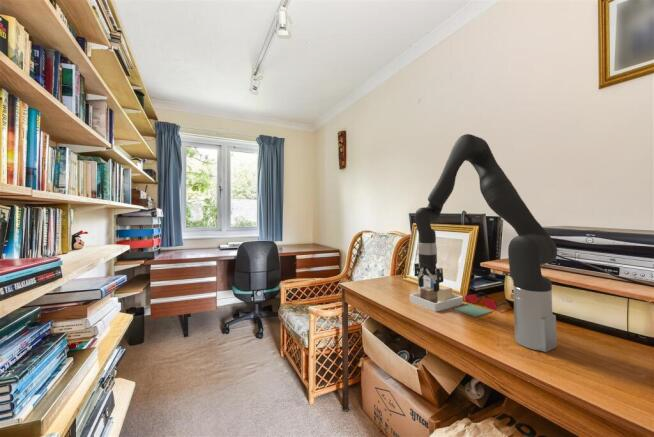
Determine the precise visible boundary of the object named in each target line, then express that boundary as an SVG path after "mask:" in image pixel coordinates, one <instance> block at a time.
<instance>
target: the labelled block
mask: <svg viewBox="0 0 654 437" xmlns="http://www.w3.org/2000/svg"><path fill="white" fill-rule="evenodd" d="M419 292H420V298H422V299H425V300H427V301H430V302H433V303H438V297H437V292H434V288H430V287H426V288H421V289H420V291H419Z"/></svg>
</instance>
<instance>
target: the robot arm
mask: <svg viewBox="0 0 654 437" xmlns="http://www.w3.org/2000/svg"><path fill="white" fill-rule="evenodd" d="M466 161H467V162H468V163H469V164H471V166H472V167H473V168H474V170H475V171H476V173H477V174H478V179H479V189H480V193H481V195H482V197H483V199H484V200H485V202H486V203H487V204H486V205H488V207H489V208H490V209H491V211H493V213H494V214H496V215H497V216H499V217H500V218H501V219H503V221H505V222H507V223H508V224H509V225H510V226H511V228H513V229H514V231H515V233H517V236H514V237H513V238H512V239H511V240H510V242H509V243H508V246H507V247H508V248H507V254H508V255H507V256H508V266H509V274H510V277H511V280H512V283H513V284H512V286H513V288H512V289H513V300H514V301H513V313H514V314H513V319H514V341H515V342H516V343H517V344H519V345H520V346H523V347H525V348H528V349H531V350H535V351H541V352H543V353H548V352H550V351H552V350H554V349H556V348H557V346H558V344H557V340H558V339H557V316H556V314H553V286H552V285H553V284H552V280H551V279H550V278H548V277H545V276H544V275H543V274H542V270H541V269H542V268H541V267H542V266H541V265H547V264H551V263H553V262H554V261H555V260H556V258H558V246H557V245H556V243H555V241H554V239H553V238H552V237H551V236H550V235H549V233H548V232H547V231H546V230H545V228H544V227H543V226H542V225H541V224H540V222H538V220H537V219H536V218H535V216H534V215H533V214H532V212H531V211H530V209H529V208H528V206H527V204H526V203H525V201H524V200H523V199H522V197H521V196H520V193H519V192H518V190H517V189H516V188H515V186H514V185H513V183H512V182H511V180H510V179H509V178H508V176H507V175H506V174H505V172H504V170H503V169H502V168H501V167H500V165H499V164H498V162H497V160H496V158H495V156H494V154H493V152H492V150H491V148H490V146H489V144H488V143H487V141H486V140H485V139H484V138H482V137H479V136H476V135H474V134H471V133H470V134H469V133H466V134H463V135H461V136H459V137H458V138H457V140H456V141H455V142H454V144H453V146H452V149H451V150H450V153H449V156H448V158H447V160H446V162H445V165H444V167H443V169H442V172H441V173H440V174H441V175H440V176H439V178H438V181H437V182H436V184H435V185H434V187H433V188H432V190H431V192H430V194H429V195H428V197H427V201H428V204H427V206H425V207H419V208H417V210H416V212H415V214H414V221H415V225H416V229H417V232H418V247H417V248H418V251H417V252H418V263H417V262H416V263H414V274H413V275H414V277H417V280H418V281H417V284H419V287H423V286H424V278H423V277H424V275H427V276H430V278H431V279H432V280H433V282H434V292H438V291H439V286H440V283H443V282H444V274H443V273H444V272H443V268H442V267H439V268H438V267H437V264H438V255H437V254H438V253H437V252H438V251H437V250H438V249H437V248H438V247H437V241H436V240H437V239H436V236H437V235H436V233H437V232H436V231H435V229H433V228H432V226H431V224H432V223H435V221H437V219H438V218H439V217H440V215H441V213H442V210H443V207H444V205H445V204H446V202H447V201H448V199H449V198H450V196H451V195H452V193H453V191H454V188H455V184H456V178H457V174H458V172H459V170H460V168H461V166H462V165H464V163H465V162H466ZM420 269H421V270H420ZM433 275H435V276H433ZM435 279H436V280H435Z"/></svg>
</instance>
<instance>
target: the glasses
mask: <svg viewBox="0 0 654 437" xmlns="http://www.w3.org/2000/svg"><path fill="white" fill-rule="evenodd" d="M480 294H483V295H484V296H482V295H480ZM479 297H481V299H482V304H483V305H484V306H486V307H487V308H488V309H489V310H493V311H496V310H497V309H498V307H499V306H502V305H505V304H507V303H509V302H508V301H505V302H502V303H499V304H497V302H496V300H494V299H492V298H490V297H487V295H486V293H484V292H479V293H476V294H475V293H472V294H471V293H467V294H466V295H465V296H464V297H463V299H465V301H467V302H468V304H471V305H473V304H476V303H477V304H478V303H480V298H479Z"/></svg>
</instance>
